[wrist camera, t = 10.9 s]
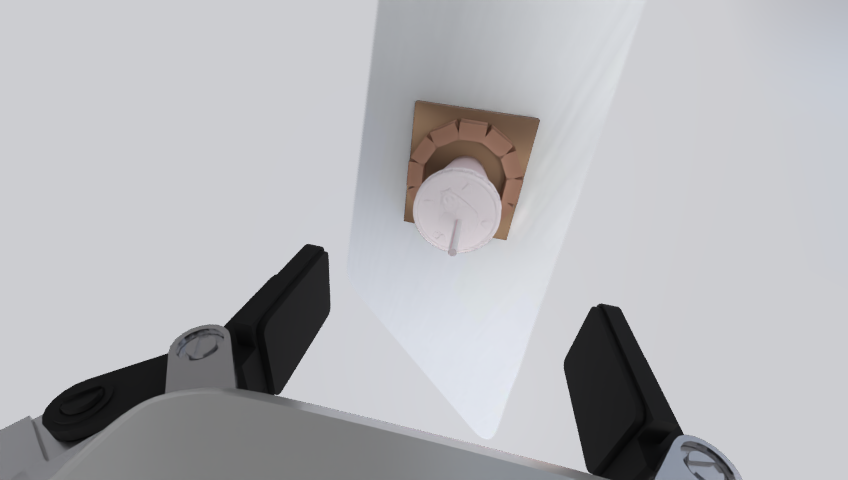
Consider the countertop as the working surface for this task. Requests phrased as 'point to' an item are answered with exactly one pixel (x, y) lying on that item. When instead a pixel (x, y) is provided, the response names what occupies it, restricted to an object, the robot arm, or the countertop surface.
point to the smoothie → (458, 207)
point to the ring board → (471, 150)
